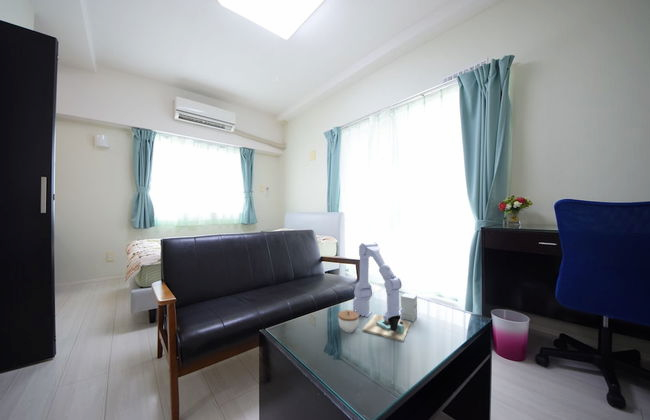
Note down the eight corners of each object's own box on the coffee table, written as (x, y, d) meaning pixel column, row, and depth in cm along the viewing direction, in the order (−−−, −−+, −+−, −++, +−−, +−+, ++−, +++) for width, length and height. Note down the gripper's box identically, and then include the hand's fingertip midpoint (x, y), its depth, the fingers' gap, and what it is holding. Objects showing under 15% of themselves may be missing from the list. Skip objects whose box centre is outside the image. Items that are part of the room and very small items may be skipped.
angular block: (376, 324, 119) (376, 317, 119) (386, 320, 123) (386, 314, 123) (397, 335, 107) (397, 328, 108) (407, 330, 112) (407, 323, 112)
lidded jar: (358, 335, 109) (358, 316, 110) (336, 333, 111) (336, 314, 112) (359, 325, 120) (359, 307, 120) (339, 323, 122) (339, 306, 122)
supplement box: (414, 321, 124) (413, 298, 124) (400, 318, 128) (400, 296, 129) (417, 317, 130) (417, 295, 130) (404, 313, 134) (404, 292, 135)
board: (362, 331, 114) (362, 323, 114) (374, 316, 131) (374, 309, 131) (403, 341, 104) (403, 333, 104) (410, 324, 121) (410, 316, 121)
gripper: (392, 308, 103) (392, 338, 102) (407, 300, 112) (408, 328, 112) (379, 304, 108) (379, 333, 108) (395, 297, 118) (395, 323, 117)
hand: (393, 330), depth 110 cm, fingers closed
